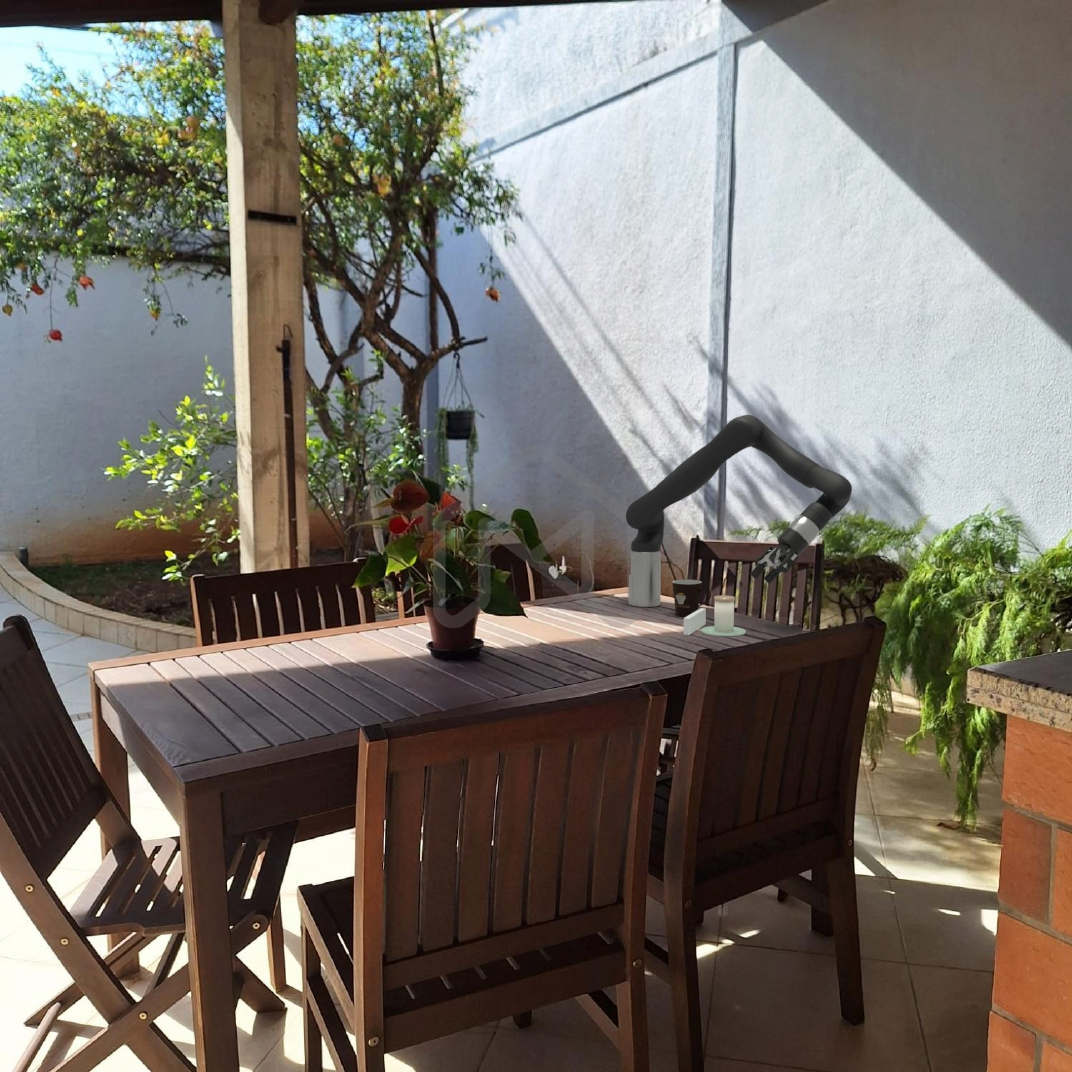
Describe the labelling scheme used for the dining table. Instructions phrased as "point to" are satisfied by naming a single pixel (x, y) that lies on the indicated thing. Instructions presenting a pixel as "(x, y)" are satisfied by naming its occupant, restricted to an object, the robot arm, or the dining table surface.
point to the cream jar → (724, 613)
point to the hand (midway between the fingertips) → (759, 578)
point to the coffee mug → (687, 596)
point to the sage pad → (711, 631)
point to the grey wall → (694, 621)
